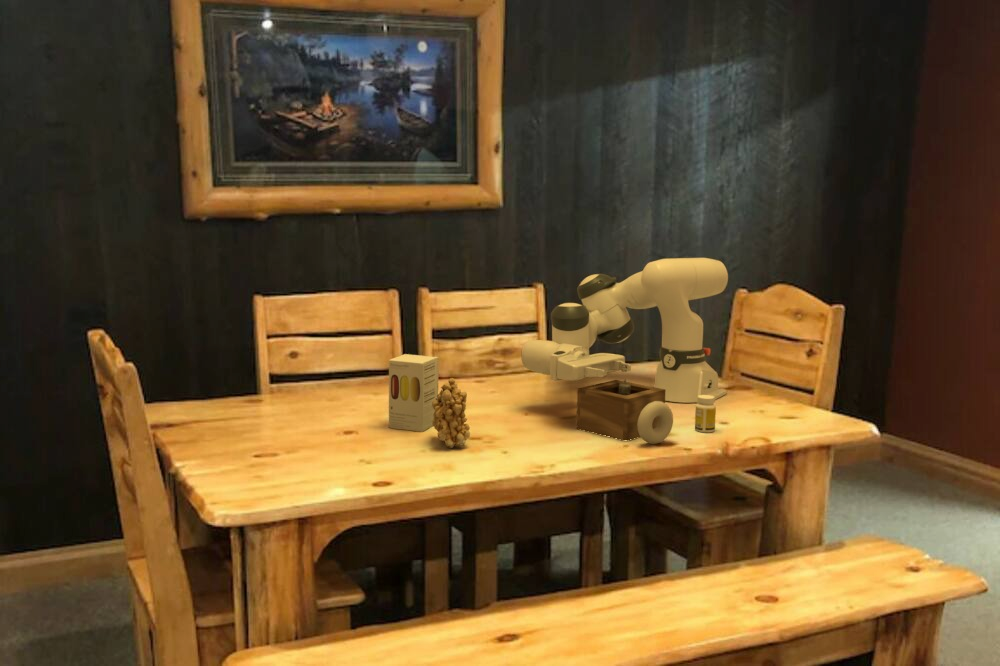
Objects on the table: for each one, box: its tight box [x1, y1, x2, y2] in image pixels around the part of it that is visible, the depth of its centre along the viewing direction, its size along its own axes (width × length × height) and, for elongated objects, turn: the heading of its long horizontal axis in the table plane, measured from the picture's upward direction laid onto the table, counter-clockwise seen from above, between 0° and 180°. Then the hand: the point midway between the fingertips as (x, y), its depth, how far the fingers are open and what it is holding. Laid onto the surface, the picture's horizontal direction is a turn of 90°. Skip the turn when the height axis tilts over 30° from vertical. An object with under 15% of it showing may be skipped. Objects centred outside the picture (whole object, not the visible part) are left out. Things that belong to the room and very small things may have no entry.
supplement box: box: [388, 353, 440, 433], centre depth 223 cm, size 10×9×17 cm
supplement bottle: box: [694, 395, 717, 434], centre depth 222 cm, size 5×5×8 cm
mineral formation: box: [432, 377, 471, 449], centre depth 208 cm, size 8×13×15 cm, turn 21°
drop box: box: [576, 379, 666, 441], centre depth 222 cm, size 15×15×10 cm
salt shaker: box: [618, 378, 631, 396], centre depth 221 cm, size 6×6×12 cm
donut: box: [637, 401, 674, 445], centre depth 210 cm, size 10×4×10 cm, turn 125°
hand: (617, 370), depth 221 cm, fingers open, 8 cm apart
